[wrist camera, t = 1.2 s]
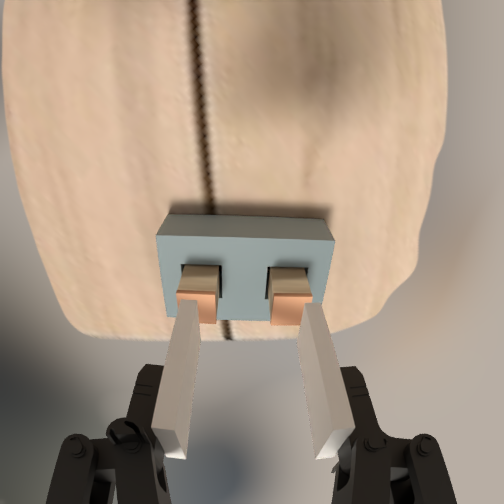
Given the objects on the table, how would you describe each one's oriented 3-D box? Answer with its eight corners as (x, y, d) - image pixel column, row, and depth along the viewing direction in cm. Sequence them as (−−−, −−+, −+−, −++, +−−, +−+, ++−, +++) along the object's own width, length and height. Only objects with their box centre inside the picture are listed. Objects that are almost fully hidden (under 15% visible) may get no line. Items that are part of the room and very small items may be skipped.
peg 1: (185, 262, 35) (176, 293, 30) (219, 263, 36) (215, 295, 30) (187, 289, 37) (179, 322, 32) (219, 290, 38) (216, 323, 32)
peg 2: (269, 264, 36) (274, 296, 31) (303, 265, 36) (312, 296, 31) (267, 292, 38) (270, 325, 33) (299, 292, 38) (306, 325, 33)
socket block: (167, 214, 38) (155, 235, 32) (323, 219, 38) (335, 240, 33) (175, 289, 44) (167, 316, 38) (310, 293, 44) (317, 320, 39)
